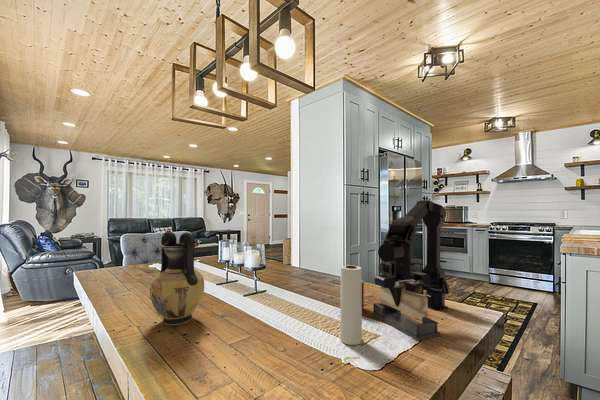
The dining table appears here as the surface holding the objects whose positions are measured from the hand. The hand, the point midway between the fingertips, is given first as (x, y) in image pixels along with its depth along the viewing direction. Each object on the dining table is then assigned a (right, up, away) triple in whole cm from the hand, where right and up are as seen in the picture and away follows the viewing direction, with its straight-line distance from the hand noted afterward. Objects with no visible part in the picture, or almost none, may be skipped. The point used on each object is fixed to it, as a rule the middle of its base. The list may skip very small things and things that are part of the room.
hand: (402, 305), depth 94 cm
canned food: (-14, -7, +14) cm, 21 cm away
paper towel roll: (-19, -6, -12) cm, 23 cm away
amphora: (-76, -6, +2) cm, 76 cm away
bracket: (0, -6, 0) cm, 6 cm away
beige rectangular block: (0, -1, 0) cm, 1 cm away
